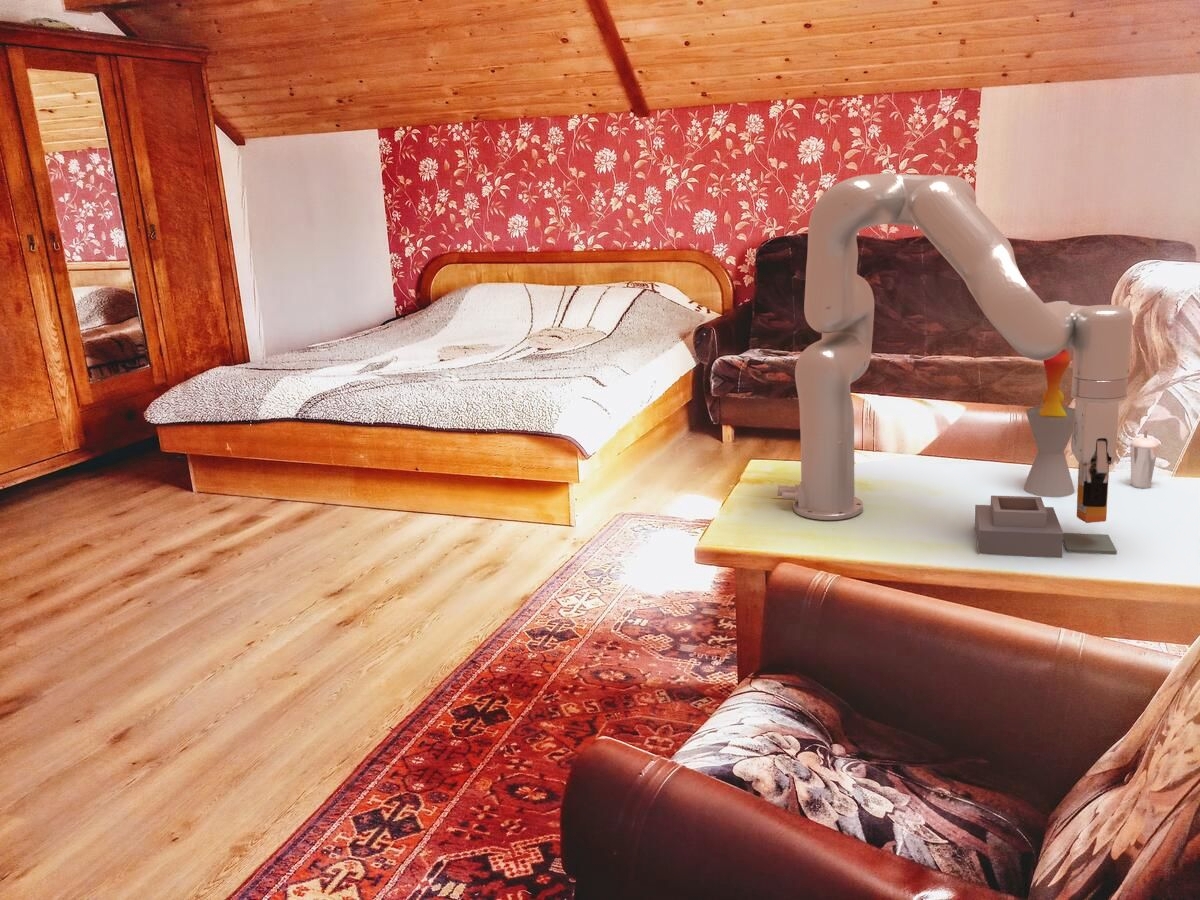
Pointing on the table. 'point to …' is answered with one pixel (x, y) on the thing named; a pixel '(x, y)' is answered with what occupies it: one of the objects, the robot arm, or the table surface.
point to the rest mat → (1088, 543)
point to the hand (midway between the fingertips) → (1091, 499)
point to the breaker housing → (1018, 528)
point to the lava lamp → (1051, 434)
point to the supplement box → (1082, 512)
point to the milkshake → (1143, 460)
